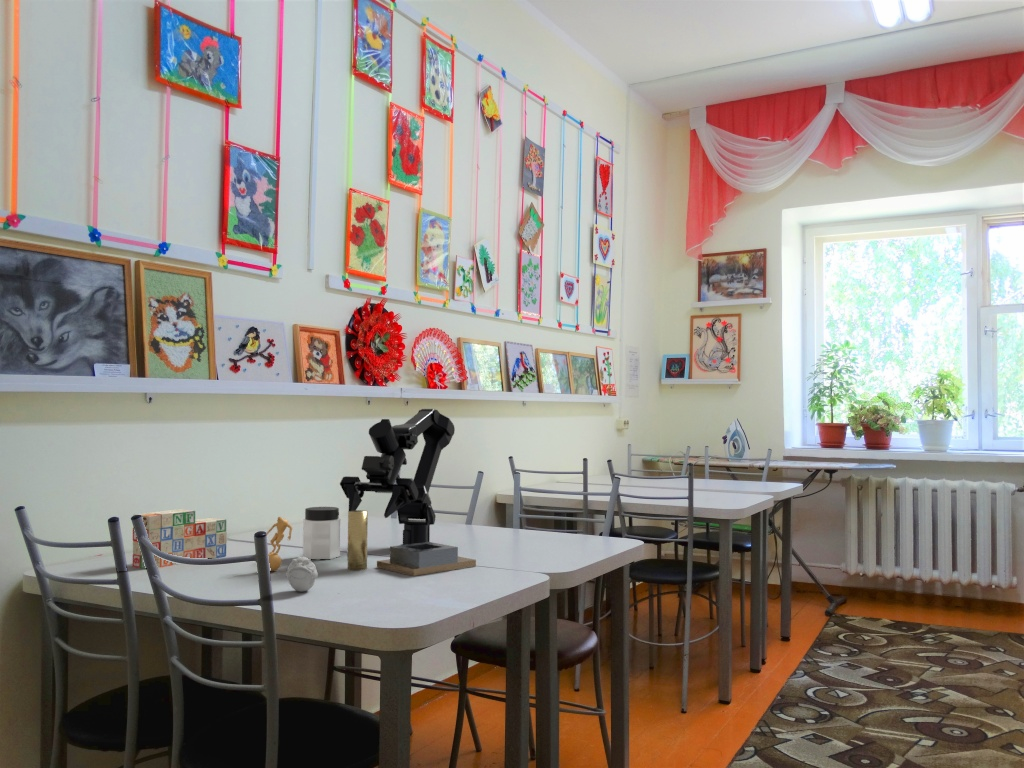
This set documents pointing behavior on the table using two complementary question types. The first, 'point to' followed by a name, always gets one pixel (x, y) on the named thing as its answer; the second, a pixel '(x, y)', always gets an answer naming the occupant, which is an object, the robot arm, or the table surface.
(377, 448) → the robot arm
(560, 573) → the table surface
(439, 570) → the jig
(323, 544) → the jar
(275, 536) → the figurine
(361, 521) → the cylinder
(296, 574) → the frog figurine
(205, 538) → the stack of blocks
